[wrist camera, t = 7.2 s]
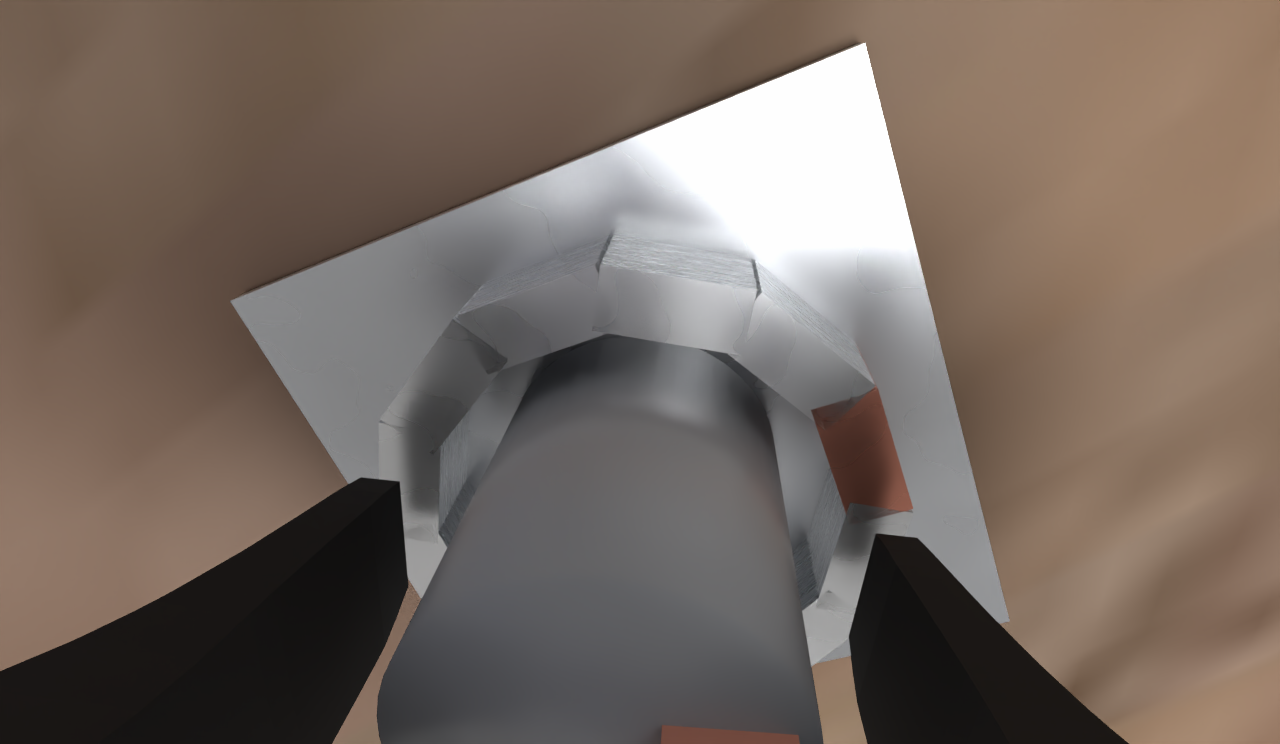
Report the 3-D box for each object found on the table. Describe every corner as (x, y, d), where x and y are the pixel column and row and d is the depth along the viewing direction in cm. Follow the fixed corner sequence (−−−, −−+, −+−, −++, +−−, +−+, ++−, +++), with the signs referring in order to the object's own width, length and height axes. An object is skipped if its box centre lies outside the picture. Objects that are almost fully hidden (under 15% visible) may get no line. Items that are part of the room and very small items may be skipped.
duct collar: (243, 293, 13) (168, 335, 11) (859, 42, 10) (891, 45, 9) (512, 715, 17) (488, 796, 15) (1001, 606, 15) (1044, 688, 13)
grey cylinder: (519, 556, 14) (386, 934, 8) (500, 330, 12) (306, 615, 6) (764, 570, 14) (807, 975, 8) (786, 340, 12) (866, 651, 6)
